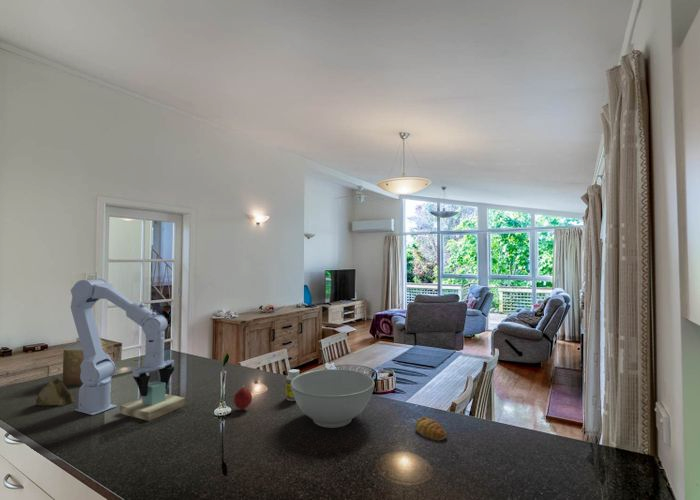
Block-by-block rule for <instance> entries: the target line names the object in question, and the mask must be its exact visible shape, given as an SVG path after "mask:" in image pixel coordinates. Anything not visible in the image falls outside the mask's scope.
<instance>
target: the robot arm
mask: <svg viewBox="0 0 700 500" xmlns="http://www.w3.org/2000/svg"><path fill="white" fill-rule="evenodd" d="M70 294H71V302H70V303H71V304H70V310H71V314H72V318H73V322H74V325H75V328H76V332H77V336H78V337H79V340H80V343H81V347H82V350H83V354H84V360H83V361H82V363H81V365H80V368H81V374H80V379H81V381H82V383H83V385H80V387H79V390H78V403H77V404H78V408H75V411H76V412H79V413H84V414H87V415H90V416H95V415H97V414H100V413H102V412H105V411H108V410H111V409H114V408H117V405H116V404H112V403H111V394H112V393H111V391H112V390H111V389H112V387H111V385H112V384H111V383H112V376H113V375H115V373H116V369H117V368H116V363H114V361H113V360H112V359H111V356H110V354H108V353H107V352H106V353H105V352H104V351H103V348H102V344H101V341H100V339H101V338H100V334H99V331H98V328H97V324H96V319H95V316H94V313H93V309H92V308H93V306H95V304H96V303H97V302H98V301H99V300H100V299H102V300H103V299H104V300H107V301H109V302H110V303H112V304H114V305H115V306H117V307H118V308H120V309H122V310H123V311H125V316H126V318H129V319H130V320H131V321H132V322H134V323H136V324H137V325H138V326H140V327H141V330H142V331H143V334H144V335H145V349H144V351H145V355H144V356H145V358H144V359H145V360H144V365H142V366H140V367H138V368H135V369H132V377H133V379H134V382H135V383H136V384H137V387H138V390H139V393H140V397H142V396H144V397H145V396H147V389H148V383H150V382H149V381H150V379H151V376H150V375H147V374H148V373H152V372H155V371H158V372H159V378H160V379H159V382H164V383H166V389H167V388H168V385H169V381H170V378H171V376H172V374H173V373H174V371H175V367H174V366H175V360H174V359H167V360H165V335H166V334H165V330H166V329H167V328H168V326H169V323H168V322H169V321H168V319H167V318H166V317H165V316H164V315H163V314H159V315H158V313H157V312H155V311H152V310H150V309H149V308H148V307H146V304H145V303H140V302H135V303H134V302H133V301H131V300H130V299H129V298H127V296H125V295H124V294H122V293H121V292H120V291H119V290H118V289H116V288H115V287H114V286H113V284H111V283H110V282H108V281H107V280H105V279H103V278H96V279H87V280H86V279H80V280H78V281H77V282H75V284H74V285H73V287H71V288H70ZM96 363H97V364H96Z"/></svg>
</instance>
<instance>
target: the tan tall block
mask: <svg viewBox="0 0 700 500" xmlns="http://www.w3.org/2000/svg"><path fill="white" fill-rule="evenodd" d="M100 341H101V344H102V348H103V351H104V352H105V353H107V347H108V346H107V343H106V342H105V341H104V340H102V339H101V338H100ZM62 351H63V352H62V354H63V355H62V358H63V359H62V381H61V382H62V383H63V384H77V385H76V386H82V385H83V383H82V381H81V379H80V374H81V368H80V365H81V363H82V361H83V360H84V354H83V350H82V347H81V343H80V340H79V336H78V337H76V339H75V341H74V342H72V343H71V344H69V345H67V346H66V347H65V348H64V349H63V350H62ZM96 364H97V363H96Z"/></svg>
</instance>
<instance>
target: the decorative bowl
mask: <svg viewBox="0 0 700 500" xmlns="http://www.w3.org/2000/svg"><path fill="white" fill-rule="evenodd" d="M375 383H376V382H375V380H374V379H373V377H372V376H370V375H368V374H366V373H363V372H359V371H355V370H352V369H351V370H350V369H338V368H337V369H336V368H334V369H333V368H332V369H331V368H329V369H327V368H326V369H317V370H312V371H307V372H304V373H301V374H299V375H298V376H297V377H295V378H294V379H293V380H292V381H291V390H292V393H293V396H294V398H295V400H296V401H295V402H296V404H297V406H298V407H299V408H300V410H301V411H302V413H304V414H305V415H306V416H307V417H309V419H312V420H313V423H314V424H316V425H317V426H319V427H322V428H332V429H333V428H340V427H344V426H347V425H349V424H350V423H352V419H355V417H357V416H358V415H359V414H361V412H362V411H364V409H365V408H366V406H367V405H368V404H369V401H370V400H371V398H372V395H373V392H374V389H375Z"/></svg>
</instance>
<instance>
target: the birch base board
mask: <svg viewBox="0 0 700 500" xmlns="http://www.w3.org/2000/svg"><path fill="white" fill-rule="evenodd" d="M186 398H187V397H183V396H178V395H173V394H167V393H166V395H165V401H163V402H160V403H158V404H155V405H148V404H143V403H142V397H140V398H137V399H135V400H132V401H129V402H126V403H123V404H121V405H120V406H119V414H120V415H125V416H129V417H132V418H136V419H141V420H144V421H148V422H150V421H152V420H155V419H158V418H159V417H162V416H163V415H165V414H168V413H170V412H173V411H176V410H177V409H180V408H182V407H185V406H186V401H187V400H186Z"/></svg>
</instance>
